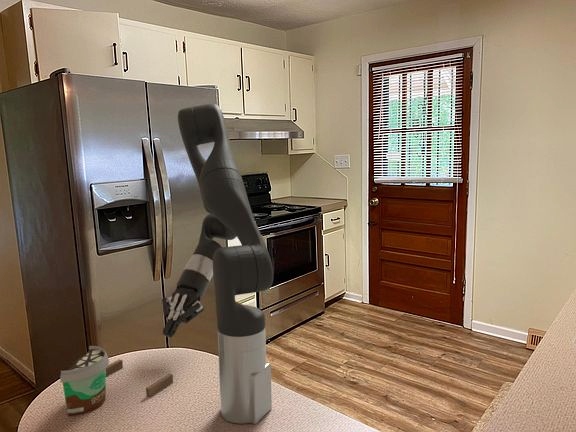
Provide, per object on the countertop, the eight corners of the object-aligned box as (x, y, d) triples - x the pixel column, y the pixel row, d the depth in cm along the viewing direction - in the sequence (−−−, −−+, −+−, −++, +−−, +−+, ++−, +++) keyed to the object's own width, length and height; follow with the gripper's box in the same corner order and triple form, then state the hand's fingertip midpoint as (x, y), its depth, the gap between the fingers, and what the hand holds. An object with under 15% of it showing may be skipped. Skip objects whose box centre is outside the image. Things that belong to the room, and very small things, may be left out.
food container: (95, 421, 85) (91, 372, 83) (64, 421, 85) (59, 372, 83) (121, 387, 97) (118, 344, 95) (94, 387, 97) (90, 344, 96)
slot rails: (173, 382, 98) (172, 374, 98) (149, 398, 92) (149, 389, 92) (120, 367, 106) (119, 359, 106) (95, 380, 100) (94, 371, 100)
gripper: (170, 265, 118) (138, 325, 108) (209, 270, 111) (179, 333, 102) (184, 280, 123) (155, 337, 114) (223, 285, 117) (195, 346, 107)
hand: (166, 335), depth 108 cm, fingers closed
